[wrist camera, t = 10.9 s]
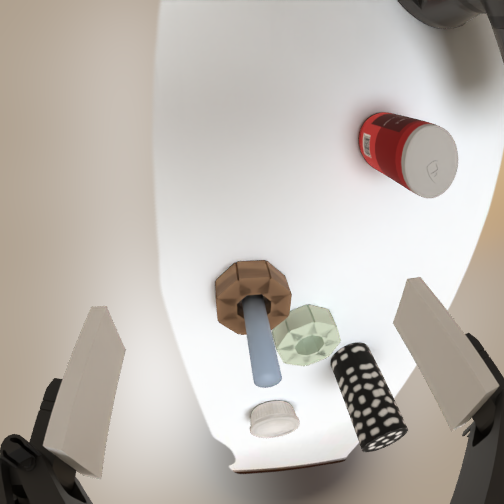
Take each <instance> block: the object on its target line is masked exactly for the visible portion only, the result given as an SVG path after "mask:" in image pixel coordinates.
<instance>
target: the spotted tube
mask: <svg viewBox="0 0 504 504" xmlns="http://www.w3.org/2000/svg"><path fill="white" fill-rule="evenodd" d="M331 367H332V369H333V372H334V374H335V377H336V380H337V382H338V385H339V388H340V390H341V393H342V396H343V399H344V401H345V404H346V407H347V409H348V412H349V415H350V418H351V420H352V423H353V426H354V429H355V432H356V434H357V437H358V440H359V443H360V446H361V449H362V451H363V452H371V451H376V450H379V449H381V448H384V447H386V446H388V445H390V444H392V443H394V442H396V441H397V440H399V439H400V438H401V437H403V436H404V435H405V434H406V433H407V431H408V428H407V426H406V424H405V422H404V420H403V417H402V415H401V413H400V411H399V409H398V407H397V404H396V403H395V400H394V398H393V396H392V394H391V392H390V390H389V388H388V386H387V384H386V382H385V379H384V377H383V375H382V373H381V371H380V369H379V367H378V365H377V363H376V361H375V359H374V357H373V355H372V353H371V351H370V350H369V348H368V346H367V345H366V344H364V343H353V344H350V345H347V346H345V347H343V348H341V349H340V350H339V351H337V352H336V353H335V354H334V356H333V357H332V359H331Z"/></svg>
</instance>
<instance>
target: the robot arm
mask: <svg viewBox="0 0 504 504" xmlns="http://www.w3.org/2000/svg"><path fill="white" fill-rule="evenodd" d="M398 1H399V2H400V3H401V5H402V6H403V7H404V8H405V9H406V10H407V11H408V12H409V13H411V14H412V15H413V16H414V17H416V18H417V19H418V20H420V21H422V22H423V23H425V24H427V25H429V26H432V27H435V28H440V29H446V28H456V27H459V26H462V25H463V24H465V23H466V22H467V21H469V20H471V19H473V18H474V17H476V16H478V15H479V14H484V13H487V15H488V18H489V20H490V23H491V25H492V29H493V31H494V34H495V37H496V40H497V43H498V46H499V49H500V52H501V56H502V59H503V63H504V0H398ZM393 324H394V326H395V327H396V329H397V331H398V332H399V334H400V336H401V338H402V339H403V341H404V343H405V344H406V346H407V348H408V350H409V351H410V353H411V355H412V357H413V358H414V360H415V362H416V364H417V366H418V367H419V369H420V371H421V373H422V375H423V377H424V378H425V380H426V382H427V384H428V386H429V388H430V390H431V392H432V394H433V395H434V397H435V399H436V401H437V403H438V405H439V407H440V409H441V411H442V413H443V415H444V417H445V419H446V421H447V423H448V426H449V427H450V430H451V431H453V430H455V429H457V428H459V427H461V426H463V425H465V424H466V423H467V422H468V421H469V420H470V419H471V418H473V420H474V422H473V423H472V424H471V425H470V426H469V427H468V428H467V429H466V430H465V431H464V432H463V435H462V436H465V435H466V434H467V433H468V432H469V431H470V433H469V435H468V436H467V437H469V439H468V443H467V448H466V452H465V456H464V460H463V464H462V468H461V471H460V475H459V479H458V482H457V484H456V488H455V491H454V494H453V497H452V499H451V502H450V504H504V378H503V376H502V374H501V373H500V371H499V370H498V368H497V367H496V365H495V364H494V362H493V361H492V360H491V358H490V357H489V355H488V354H487V352H486V351H484V348H483V346H482V345H481V344H480V342H479V341H478V340H477V339H476V338H475V337H474V336H472V335H471V334H470V333H467V334H464V332H463V331H462V330H461V328H460V327H459V326H458V324H457V323H456V322H455V320H454V319H453V318H452V316H451V315H450V314H449V312H448V311H447V310H446V308H445V307H444V306H443V305H442V303H441V302H440V301H439V300H438V298H437V297H436V296H435V295H434V293H433V292H432V291H431V290H430V288H429V287H428V286H427V285H426V284H425V282H424V281H423V280H422V279H421V278H420V277H417V278H411V279H407V282H406V285H405V288H404V291H403V295H402V298H401V301H400V304H399V307H398V310H397V313H396V316H395V319H394V321H393ZM125 351H126V349H125V347H124V345H123V343H122V341H121V338H120V336H119V334H118V332H117V329H116V327H115V325H114V323H113V320H112V318H111V315H110V313H109V311H108V308H107V306H98V307H91V309H90V312H89V314H88V316H87V318H86V320H85V323H84V325H83V328H82V330H81V332H80V335H79V337H78V340H77V342H76V345H75V347H74V350H73V352H72V355H71V358H70V360H69V363H68V366H67V369H66V371H65V374H64V377H63V379H57V378H54V379H53V381H52V382H51V383H50V384H49V386H48V387H47V389H46V391H45V394H44V397H43V401H42V403H41V406H40V411H39V412H38V415H37V419H36V422H35V425H34V428H33V432H32V435H31V439H30V442H28V441H27V440H25V439H24V438H23V437H21V436H20V435H16V434H12V435H9V436H8V437H6V438H5V439H4V441H3V443H2V444H1V448H0V504H93V503H92V502H91V500H90V499H89V497H88V496H87V494H86V492H85V491H84V489H83V487H82V486H81V484H80V482H79V481H78V479H77V478H76V477H75V474H76V471H77V472H79V473H80V474H82V475H83V476H87V477H92V478H97V479H101V477H102V469H103V461H104V455H105V448H106V442H107V436H108V430H109V425H110V419H111V414H112V409H113V404H114V399H115V394H116V389H117V384H118V380H119V376H120V371H121V367H122V363H123V359H124V355H125Z"/></svg>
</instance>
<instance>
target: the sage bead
mask: <svg viewBox="0 0 504 504" xmlns="http://www.w3.org/2000/svg"><path fill="white" fill-rule="evenodd" d="M272 333H273V337H274V341H275V345H276V349H277V352H278V353H279V355H280V357H281V359H282V360H283V362H284V363H285V364H292V365H299V366H305V365H306V366H308V365H310V364H313V363H315V362H318V361H321V360H323V359H326V358H327V357H329V356H330V354H331V353H332V352H333V351H334V349H335V348H336V347H337V346H338V344H339V343H340V341H341V339H340V336H339V332H338V329H337V326H336V324H335V322H334V320H333V317H332V315H331V313H330V311H329V310H328V309H325V308H321V307H317V306H313V305H308V306H307V305H304V306H302V307H299V308H297V309H294V310H292V311H290V313H289V316H288V318H286V319H285V320H284V321H283V322H281V323H280V324H279V325H277V326H276V327H275V328H274V330H273V332H272Z"/></svg>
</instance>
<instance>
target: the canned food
mask: <svg viewBox="0 0 504 504" xmlns="http://www.w3.org/2000/svg"><path fill="white" fill-rule="evenodd" d="M359 146H360V150H361V153H362V155H363V156H364V158H365V160H366V161H367V162H368V164H369V165H370V166H372V167H373V168H375V169H376V170H378V171H380V172H381V173H383V174H385V175H386V176H388V177H389V178H391V179H393V180H394V181H396V182H397V183H399V184H401V185H402V186H404V187H405V188H407V189H408V190H410V191H412V192H413V193H415V194H417V195H419V196H421V197H424V198H434V197H437V196H439V195H441V194H443V193H444V192H445V191H446V190H447V189H448V188H449V186H450V185H451V183H452V182H453V180H454V177H455V175H456V171H457V167H458V152H457V147H456V144H455V141H454V140H453V138H452V136H451V135H450V134H449V132H448V131H446V130H445V129H444V128H442V127H440V126H438V125H435V124H432V123H429V122H425V121H421V120H418V119H414V118H409V117H405V116H401V115H396V114H392V113H385V112H382V113H377V114H375V115H373V116H371V117H369V118H368V119H367V120H366V121H365V122H364V124H363V126H362V127H361V130H360V134H359Z"/></svg>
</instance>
